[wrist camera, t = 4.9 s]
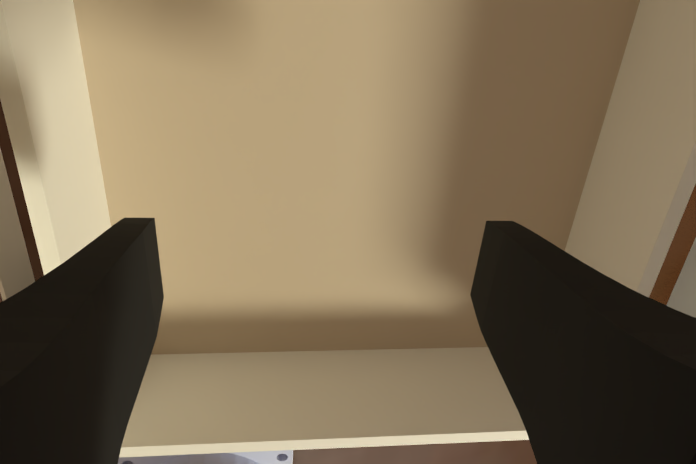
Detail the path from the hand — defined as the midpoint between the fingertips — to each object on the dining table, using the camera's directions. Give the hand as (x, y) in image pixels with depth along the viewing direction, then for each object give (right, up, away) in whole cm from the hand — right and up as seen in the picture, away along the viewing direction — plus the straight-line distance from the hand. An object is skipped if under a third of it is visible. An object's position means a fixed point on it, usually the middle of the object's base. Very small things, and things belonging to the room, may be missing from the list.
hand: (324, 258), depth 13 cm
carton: (+1, +4, +7) cm, 8 cm away
